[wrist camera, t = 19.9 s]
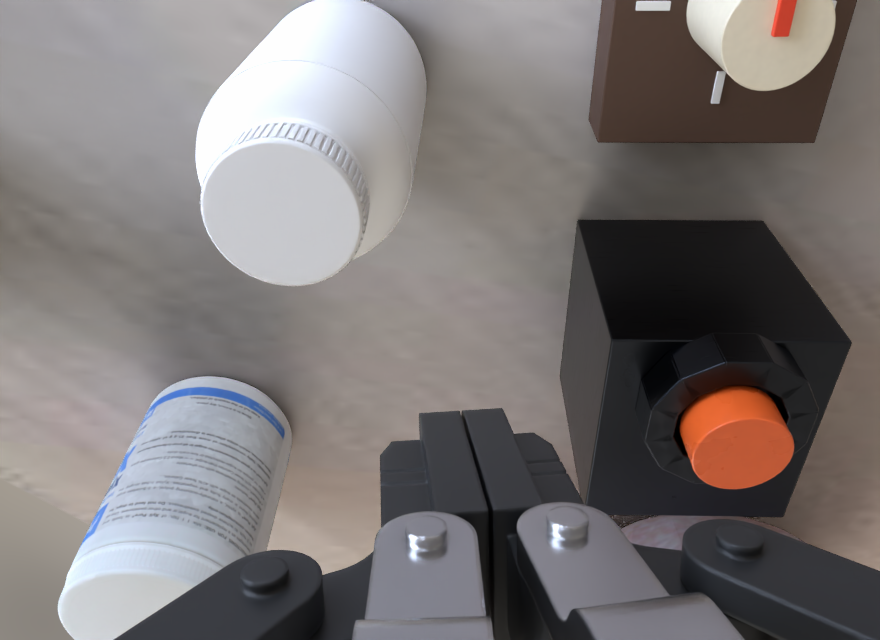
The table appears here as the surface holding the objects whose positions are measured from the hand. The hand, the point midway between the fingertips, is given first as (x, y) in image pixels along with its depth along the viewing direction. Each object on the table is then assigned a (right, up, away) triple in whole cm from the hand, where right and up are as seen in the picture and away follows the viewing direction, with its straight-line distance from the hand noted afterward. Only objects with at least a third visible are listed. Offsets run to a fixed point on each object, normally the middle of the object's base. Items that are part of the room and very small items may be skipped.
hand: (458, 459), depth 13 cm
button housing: (+12, +3, +30) cm, 32 cm away
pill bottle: (-5, +14, +23) cm, 27 cm away
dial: (+12, +16, +17) cm, 26 cm away
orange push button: (+12, -2, +18) cm, 21 cm away
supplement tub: (-15, -4, +36) cm, 39 cm away
